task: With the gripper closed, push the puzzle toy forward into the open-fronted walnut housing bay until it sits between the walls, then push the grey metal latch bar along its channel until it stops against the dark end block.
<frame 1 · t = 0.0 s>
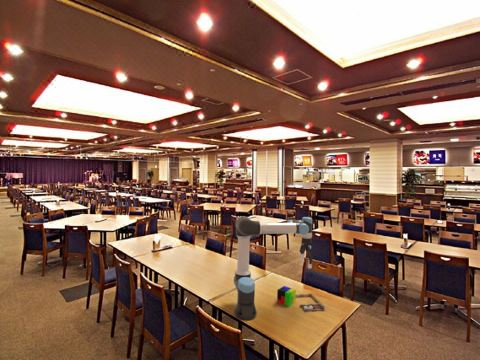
hand: (305, 265, 197), 28 cm above the table, fingers open, 13 cm apart
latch: (308, 307, 183), point 2 cm above the table, slide at 0.0 cm
housing: (306, 302, 196), on the table
puzzle toy: (286, 303, 194), on the table
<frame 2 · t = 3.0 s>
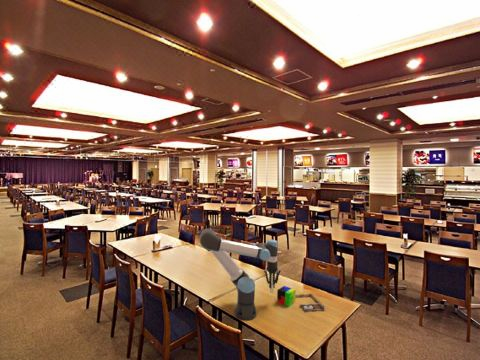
hand: (271, 292, 192), 8 cm above the table, fingers closed
nothing on the table moved.
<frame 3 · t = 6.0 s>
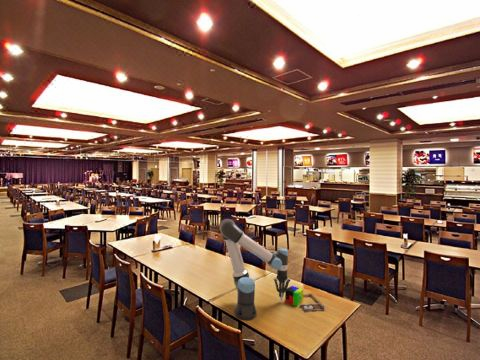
hand: (281, 301, 193), 2 cm above the table, fingers closed
puzzle toy: (294, 302, 195), on the table, touching gripper, hand, housing
everything else where it was.
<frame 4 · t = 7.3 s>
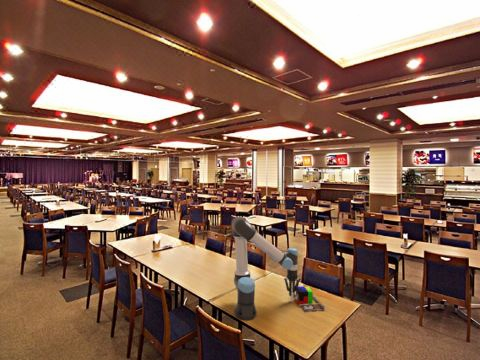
hand: (291, 300, 195), 2 cm above the table, fingers closed
puzzle toy: (303, 302, 196), on the table
everything else where it was.
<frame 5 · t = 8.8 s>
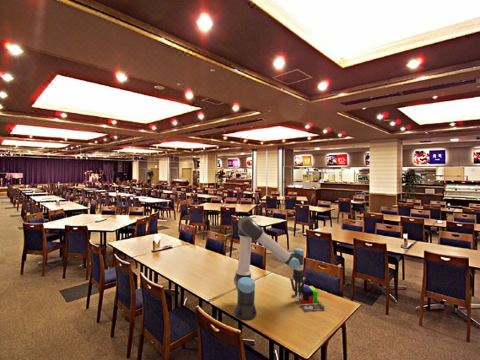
hand: (297, 300, 195), 2 cm above the table, fingers closed
puzzle toy: (308, 302, 197), on the table, touching hand, housing
everything else where it was.
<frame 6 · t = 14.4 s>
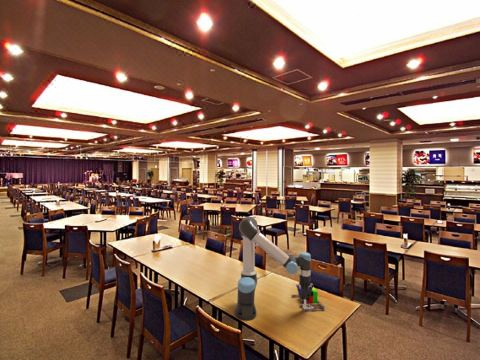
hand: (304, 308, 182), 2 cm above the table, fingers closed
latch: (309, 307, 183), point 2 cm above the table, slide at 0.7 cm, touching gripper
puzzle toy: (308, 302, 197), on the table
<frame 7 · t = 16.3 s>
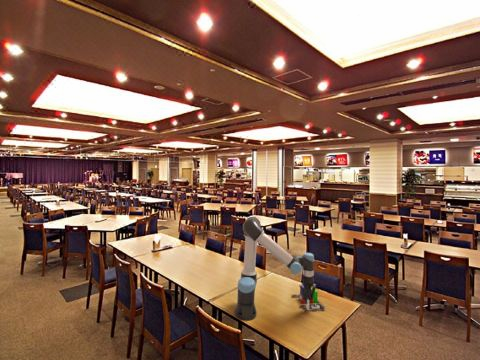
hand: (307, 308, 183), 2 cm above the table, fingers closed
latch: (315, 307, 183), point 2 cm above the table, slide at 5.2 cm
everything else where it was.
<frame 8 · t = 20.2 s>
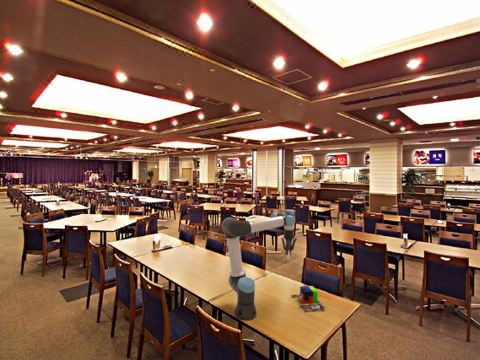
hand: (288, 258, 204), 30 cm above the table, fingers closed
nothing on the table moved.
at the end: puzzle toy inside the target area on the housing (1.6 cm from its centre), point 0.0 cm above the housing's base; puzzle toy tilted 0°; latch slide at 5.2 cm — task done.
